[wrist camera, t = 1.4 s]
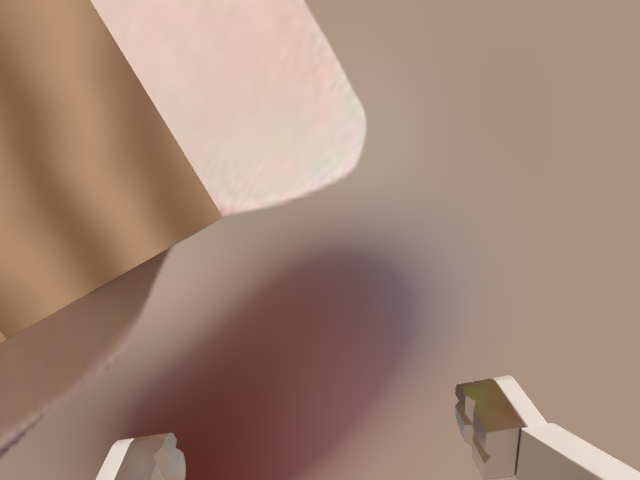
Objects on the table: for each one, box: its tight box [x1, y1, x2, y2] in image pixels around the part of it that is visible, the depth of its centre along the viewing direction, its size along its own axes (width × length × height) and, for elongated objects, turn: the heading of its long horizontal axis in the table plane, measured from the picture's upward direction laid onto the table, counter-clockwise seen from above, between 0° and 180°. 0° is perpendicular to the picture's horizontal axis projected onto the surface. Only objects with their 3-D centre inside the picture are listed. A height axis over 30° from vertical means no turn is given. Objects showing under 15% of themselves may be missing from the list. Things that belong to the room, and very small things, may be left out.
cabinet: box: [0, 0, 223, 343], centre depth 31 cm, size 16×26×22 cm, turn 32°
